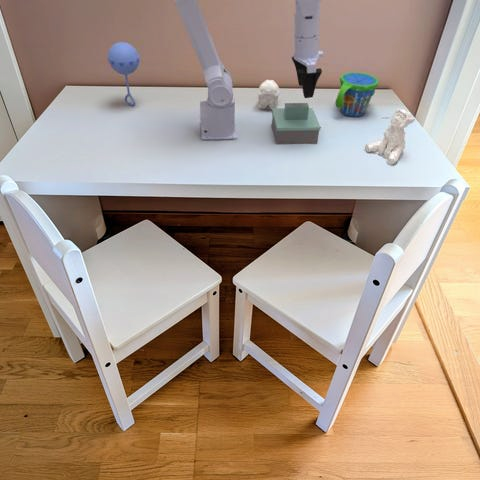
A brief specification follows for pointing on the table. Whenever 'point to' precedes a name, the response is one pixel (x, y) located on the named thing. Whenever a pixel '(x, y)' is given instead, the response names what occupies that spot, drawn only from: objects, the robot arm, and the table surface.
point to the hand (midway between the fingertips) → (305, 91)
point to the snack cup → (355, 93)
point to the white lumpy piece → (268, 94)
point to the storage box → (295, 136)
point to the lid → (295, 117)
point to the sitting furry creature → (392, 137)
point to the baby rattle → (124, 62)
